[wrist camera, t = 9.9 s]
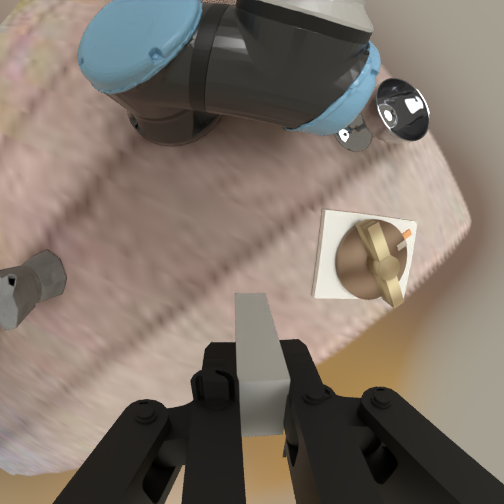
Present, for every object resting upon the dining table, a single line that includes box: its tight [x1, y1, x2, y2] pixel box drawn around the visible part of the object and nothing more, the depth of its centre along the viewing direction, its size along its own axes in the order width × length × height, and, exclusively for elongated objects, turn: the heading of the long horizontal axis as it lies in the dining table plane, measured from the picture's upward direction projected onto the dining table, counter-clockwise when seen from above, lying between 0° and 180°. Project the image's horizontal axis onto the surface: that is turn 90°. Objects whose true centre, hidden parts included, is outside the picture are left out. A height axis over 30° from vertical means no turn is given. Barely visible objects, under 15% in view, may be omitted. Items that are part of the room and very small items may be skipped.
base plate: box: [312, 209, 417, 299], centre depth 42 cm, size 14×18×2 cm
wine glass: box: [335, 78, 430, 152], centre depth 31 cm, size 8×8×15 cm
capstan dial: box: [335, 219, 407, 308], centre depth 38 cm, size 14×13×6 cm
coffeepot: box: [0, 250, 66, 330], centre depth 31 cm, size 15×9×18 cm, turn 127°
